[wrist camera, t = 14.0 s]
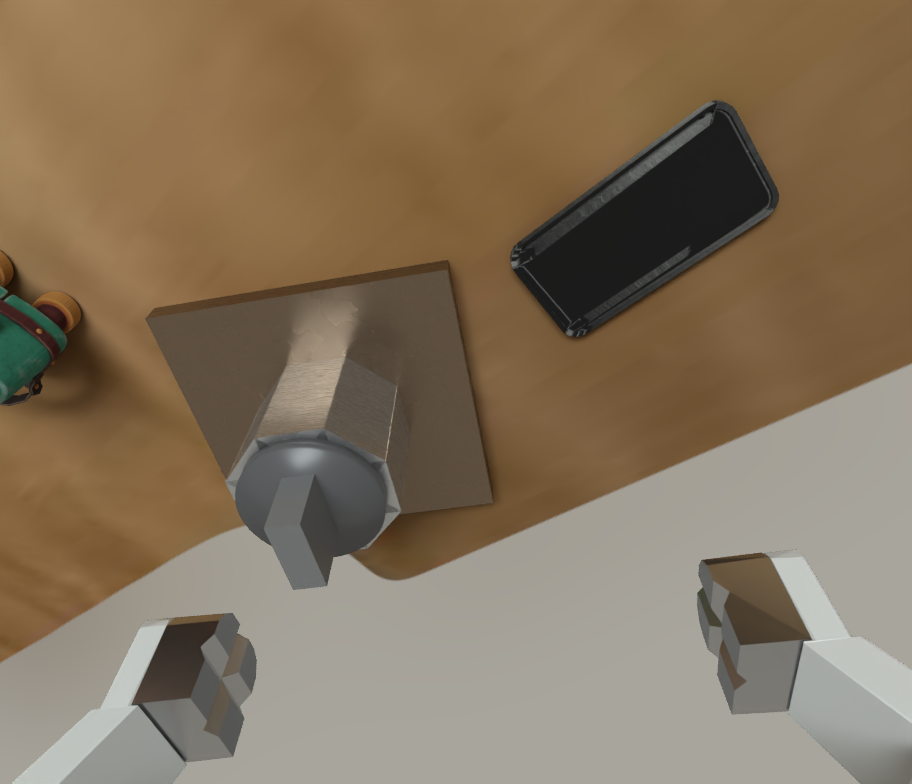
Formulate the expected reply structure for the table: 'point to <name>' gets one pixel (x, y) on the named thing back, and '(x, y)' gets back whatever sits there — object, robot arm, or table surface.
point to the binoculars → (30, 337)
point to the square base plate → (338, 379)
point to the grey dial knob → (311, 504)
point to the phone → (647, 220)
